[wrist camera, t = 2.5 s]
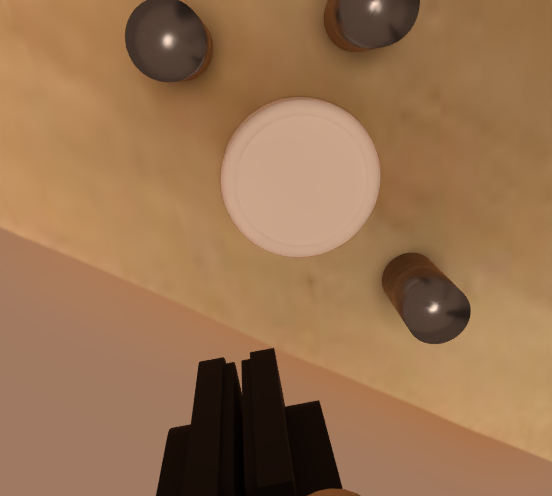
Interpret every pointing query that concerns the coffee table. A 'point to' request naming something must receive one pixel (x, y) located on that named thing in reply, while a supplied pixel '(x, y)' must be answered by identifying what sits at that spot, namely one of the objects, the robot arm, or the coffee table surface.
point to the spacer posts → (348, 36)
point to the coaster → (300, 177)
